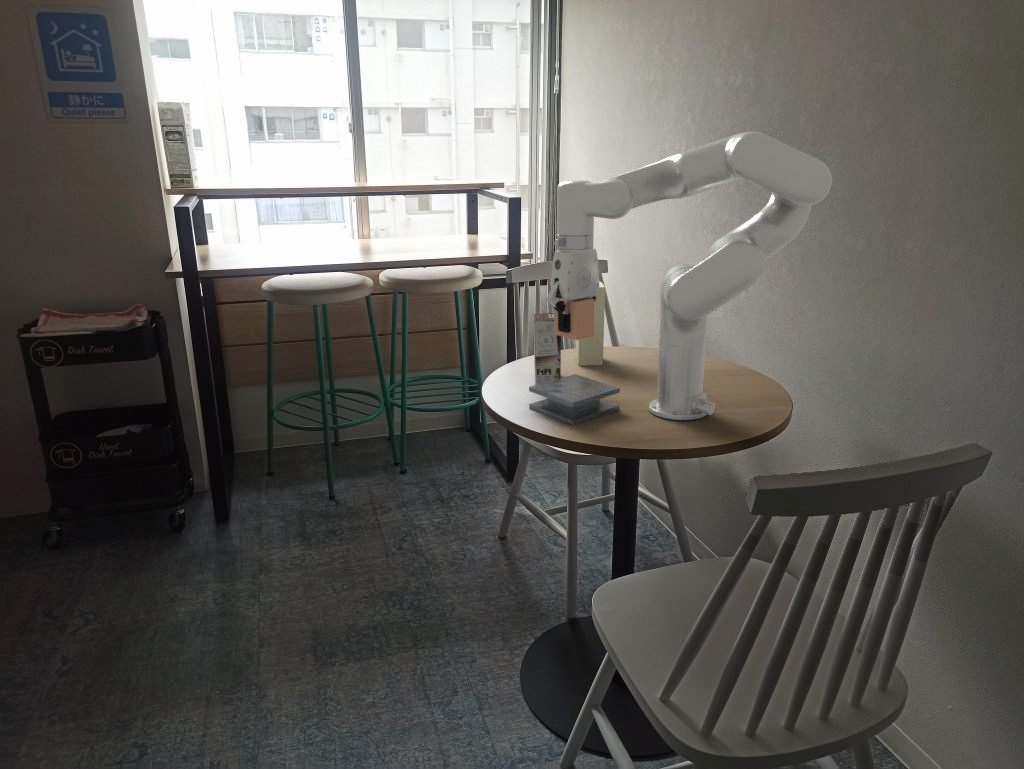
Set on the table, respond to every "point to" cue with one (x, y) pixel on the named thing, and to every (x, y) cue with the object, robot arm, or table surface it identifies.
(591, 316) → the block
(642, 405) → the table surface
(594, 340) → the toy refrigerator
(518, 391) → the table surface
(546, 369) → the coffee box
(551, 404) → the stand
